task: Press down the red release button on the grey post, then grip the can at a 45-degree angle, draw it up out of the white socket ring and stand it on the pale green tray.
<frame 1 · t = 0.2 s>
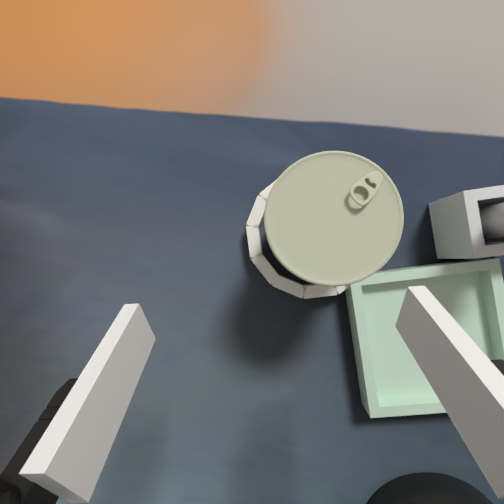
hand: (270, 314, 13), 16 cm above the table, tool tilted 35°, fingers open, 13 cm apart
socket ring: (309, 234, 28), on the table
can: (308, 234, 28), resting in socket ring
tray: (419, 331, 26), on the table
button post: (462, 226, 26), on the table
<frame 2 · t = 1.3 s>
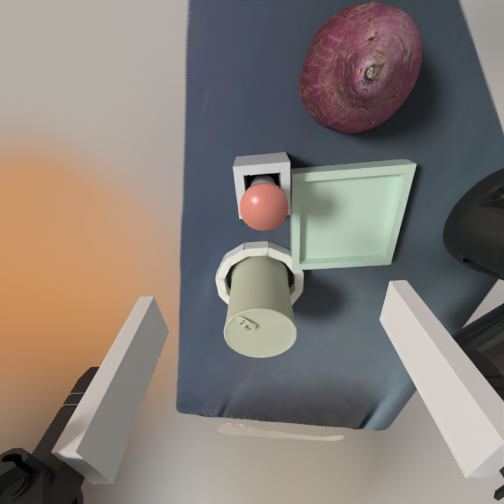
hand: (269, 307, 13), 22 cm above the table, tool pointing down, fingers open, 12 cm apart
release button: (263, 197, 26), point 7 cm above the table, slide at 0.0 cm
socket ring: (259, 277, 40), on the table
can: (259, 276, 41), resting in socket ring
tray: (340, 216, 34), on the table
vegetable: (347, 77, 26), on the table
button post: (262, 179, 32), on the table
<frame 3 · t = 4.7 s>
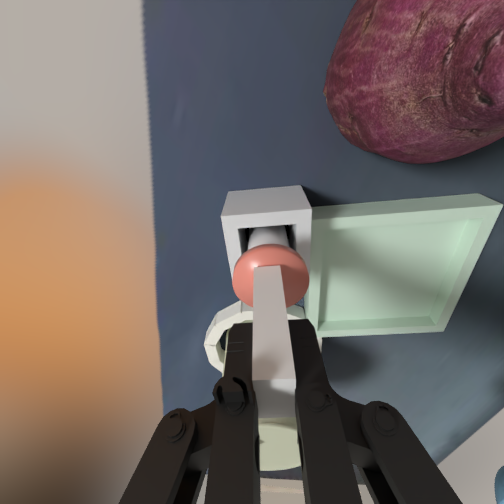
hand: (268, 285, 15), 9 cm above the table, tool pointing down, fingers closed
release button: (268, 254, 17), point 5 cm above the table, slide at 1.2 cm, touching gripper
socket ring: (262, 338, 31), on the table
can: (262, 337, 31), resting in socket ring
tray: (376, 267, 25), on the table
vegetable: (402, 73, 16), on the table
button post: (266, 221, 22), on the table
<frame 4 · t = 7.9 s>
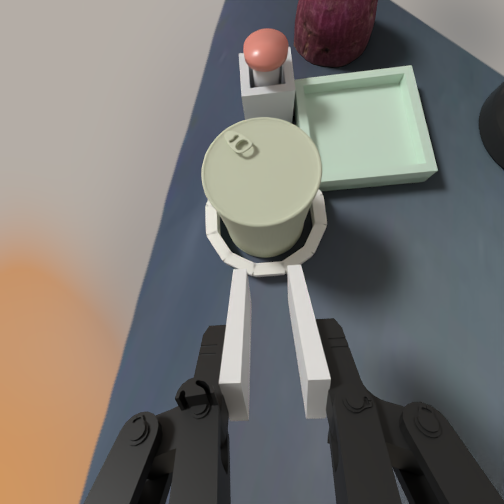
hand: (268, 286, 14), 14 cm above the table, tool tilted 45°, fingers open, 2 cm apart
release button: (266, 74, 29), point 5 cm above the table, slide at 2.0 cm
socket ring: (265, 220, 30), on the table
can: (265, 220, 30), resting in socket ring
tray: (354, 136, 31), on the table
vegetable: (330, 40, 35), on the table
button post: (267, 105, 33), on the table
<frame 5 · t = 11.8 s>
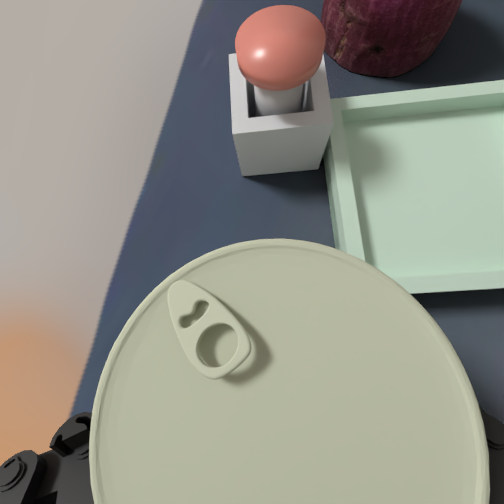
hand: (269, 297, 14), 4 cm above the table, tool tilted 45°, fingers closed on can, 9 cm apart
release button: (278, 91, 16), point 5 cm above the table, slide at 2.0 cm
can: (273, 346, 17), resting in socket ring, touching gripper
tray: (425, 196, 18), on the table
vegetable: (376, 33, 22), on the table
button post: (276, 139, 20), on the table
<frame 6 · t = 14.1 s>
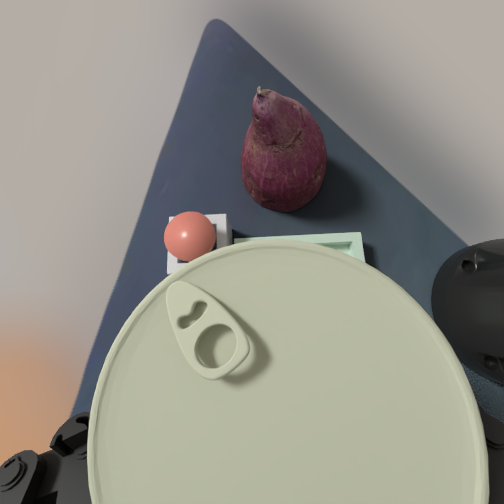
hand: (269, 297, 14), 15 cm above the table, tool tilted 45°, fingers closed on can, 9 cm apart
release button: (198, 244, 26), point 5 cm above the table, slide at 2.0 cm
can: (272, 346, 17), point 11 cm above the table, touching gripper
tray: (298, 300, 28), on the table
vegetable: (282, 176, 32), on the table
button post: (208, 253, 30), on the table
when the fingers open (6 cm above the table, at t = 16.7 s): can drops 1 cm, resting on tray.
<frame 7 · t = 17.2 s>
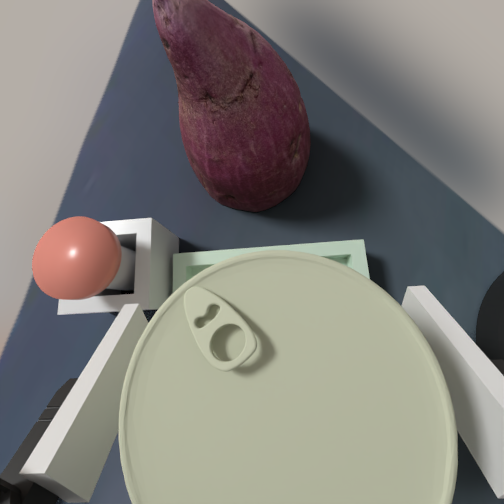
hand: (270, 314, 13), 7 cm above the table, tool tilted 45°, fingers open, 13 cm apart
release button: (109, 265, 17), point 5 cm above the table, slide at 2.0 cm
can: (274, 345, 18), point 1 cm above the table, touching tray
tray: (273, 342, 19), on the table
vegetable: (250, 161, 23), on the table
button post: (144, 274, 21), on the table
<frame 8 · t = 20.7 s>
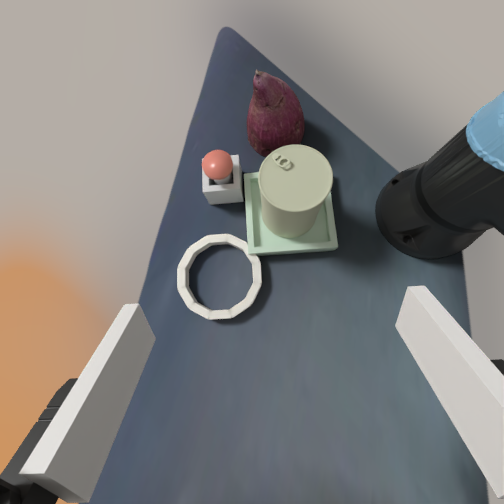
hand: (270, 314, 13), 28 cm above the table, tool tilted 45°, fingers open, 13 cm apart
release button: (221, 174, 40), point 5 cm above the table, slide at 2.0 cm
socket ring: (220, 276, 41), on the table
can: (288, 212, 42), point 1 cm above the table, touching tray
tray: (287, 214, 43), on the table
vegetable: (275, 135, 46), on the table
button post: (226, 187, 45), on the table
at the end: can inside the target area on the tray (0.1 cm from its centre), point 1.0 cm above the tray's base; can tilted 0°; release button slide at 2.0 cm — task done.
